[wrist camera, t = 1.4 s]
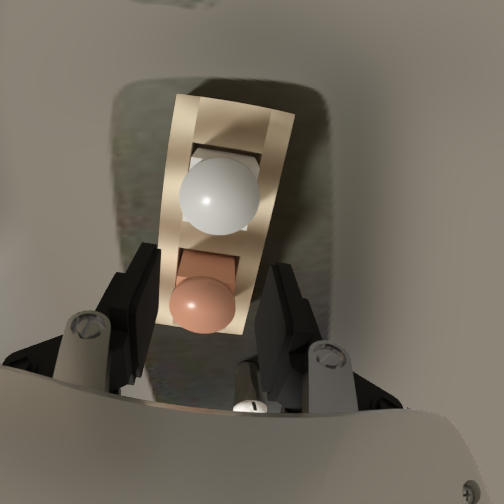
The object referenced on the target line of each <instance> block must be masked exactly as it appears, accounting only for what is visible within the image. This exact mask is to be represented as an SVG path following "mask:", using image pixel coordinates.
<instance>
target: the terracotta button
mask: <svg viewBox="0 0 504 504" xmlns="http://www.w3.org/2000/svg"><path fill="white" fill-rule="evenodd" d="M234 288H235V264H234V256H229V255H222V254H215V253H209V252H202V251H195V250H188V249H184V251H183V255H182V259H181V262H180V266H179V270H178V273H177V280H176V287H175V288H174V289H173V291H172V294H171V298H170V302H169V309H170V313H171V315H172V317H173V319H174V321H176V322H177V323H178V324H179V325H180V326H182V327H183V328H185V329H187V330H189V331H192V332H195V333H213V332H217V331H220V330H222V329H224V328H226V327H227V326H228V325H229V324H230V323H231V321H232V320H233V318H234V316H235V311H236V307H235V297H234V295H233V293H234Z"/></svg>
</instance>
